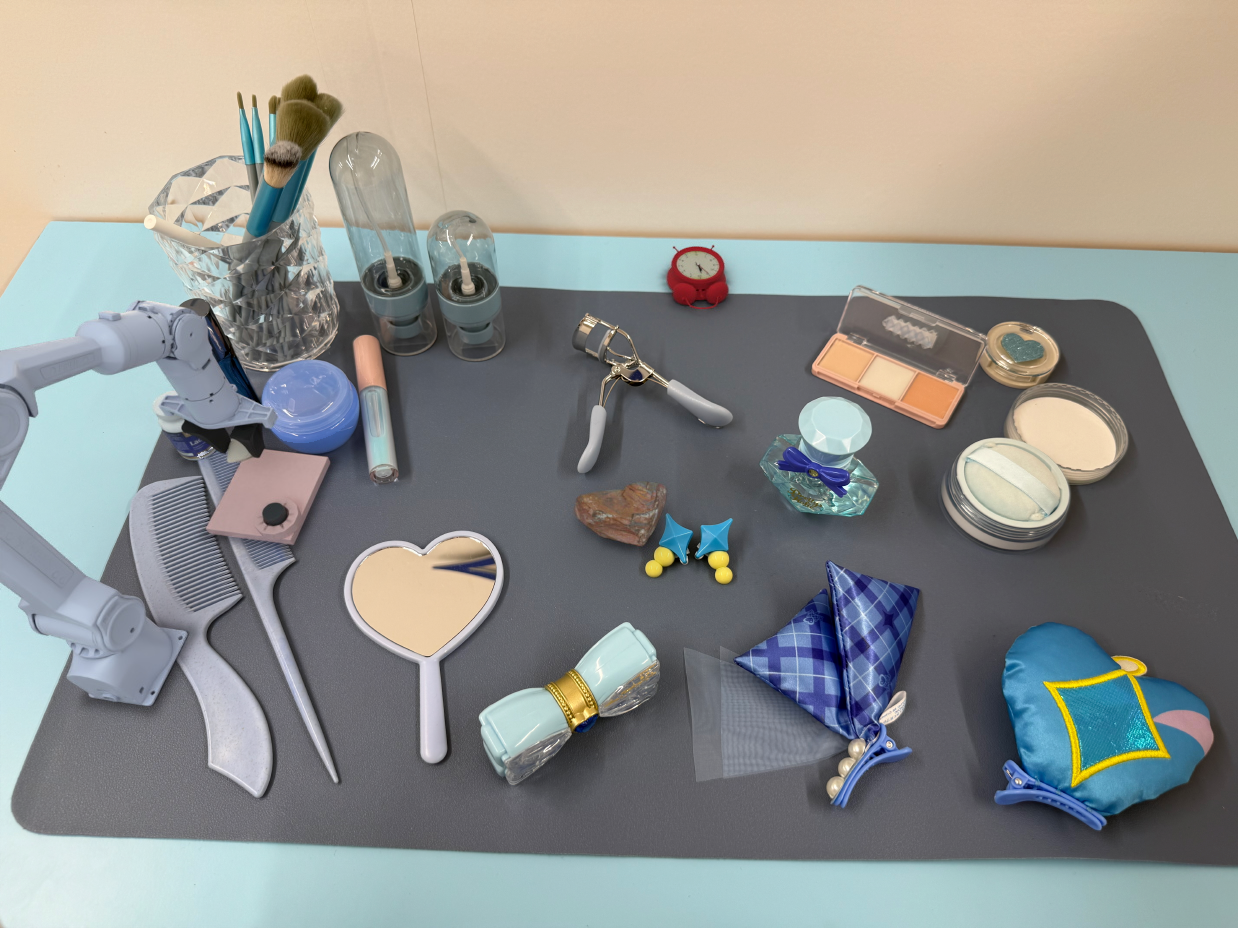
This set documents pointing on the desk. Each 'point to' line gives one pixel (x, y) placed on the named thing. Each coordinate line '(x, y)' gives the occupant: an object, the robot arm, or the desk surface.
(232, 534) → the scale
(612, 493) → the stone
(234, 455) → the beige teardrop
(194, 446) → the pill bottle
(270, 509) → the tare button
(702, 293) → the alarm clock
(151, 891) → the desk surface
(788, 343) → the desk surface
